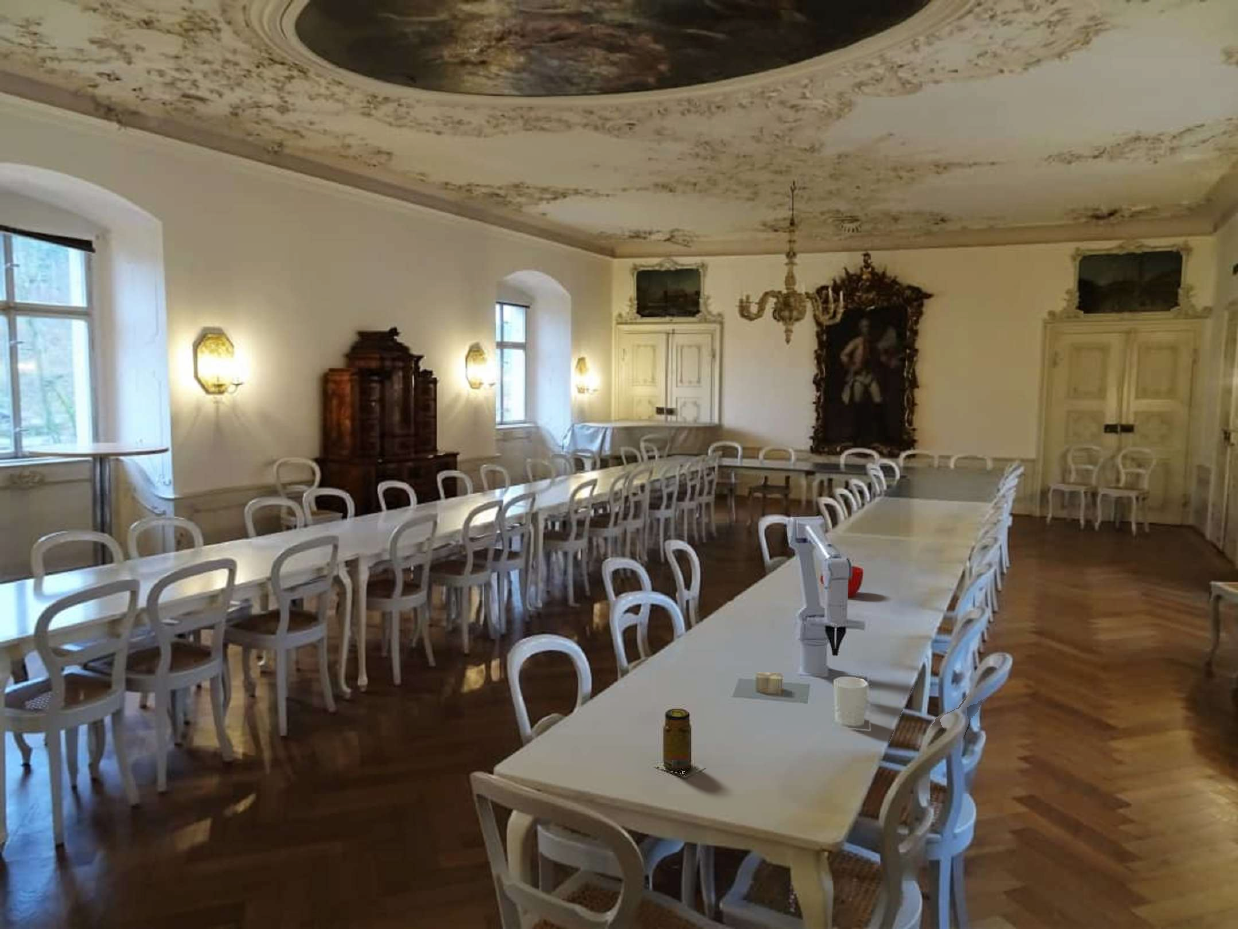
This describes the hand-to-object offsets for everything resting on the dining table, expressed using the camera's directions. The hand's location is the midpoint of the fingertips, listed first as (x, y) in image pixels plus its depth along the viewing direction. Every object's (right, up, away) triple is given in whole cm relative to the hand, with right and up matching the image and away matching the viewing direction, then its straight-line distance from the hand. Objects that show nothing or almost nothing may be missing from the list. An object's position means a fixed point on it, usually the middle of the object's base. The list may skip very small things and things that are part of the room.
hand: (835, 654), depth 231 cm
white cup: (-1, -13, -18) cm, 22 cm away
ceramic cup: (+27, 0, +102) cm, 106 cm away
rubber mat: (-16, -10, +2) cm, 19 cm away
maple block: (-14, -8, +1) cm, 16 cm away
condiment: (-44, -15, -42) cm, 62 cm away
